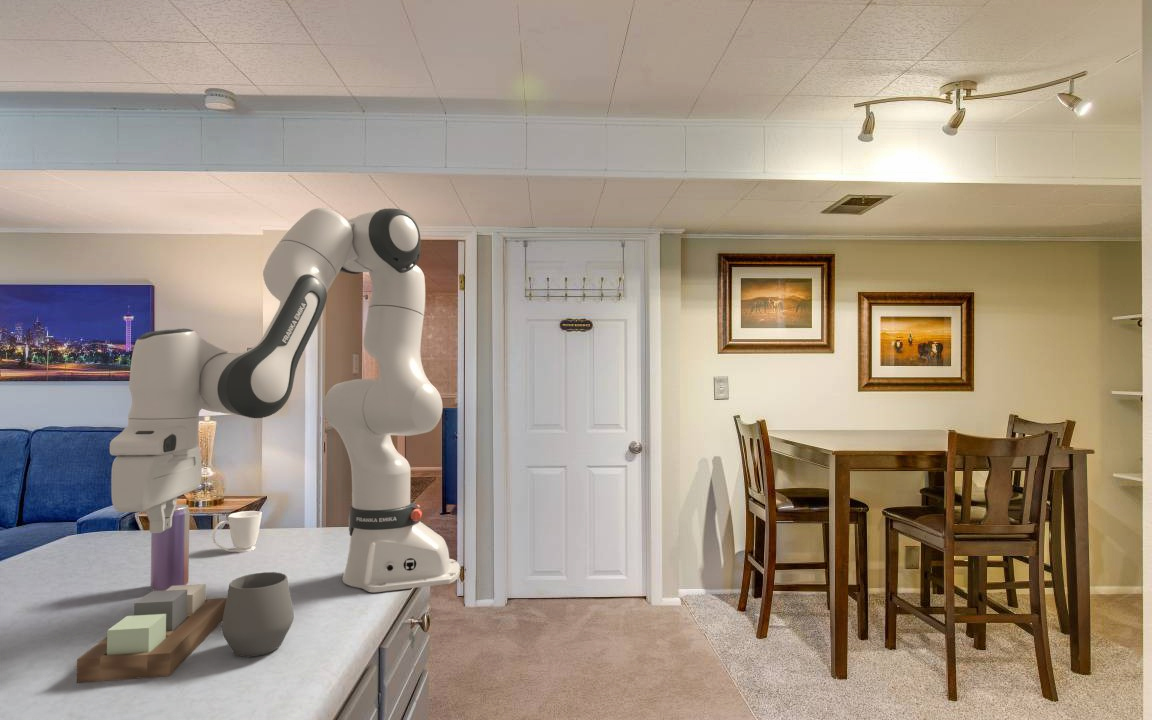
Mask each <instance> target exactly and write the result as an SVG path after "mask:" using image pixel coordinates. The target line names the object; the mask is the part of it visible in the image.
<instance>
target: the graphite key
mask: <svg viewBox="0 0 1152 720" xmlns="http://www.w3.org/2000/svg"><path fill="white" fill-rule="evenodd" d="M133 605H134V607H133V608H134V610H133V611H134V612H133V616H137V615H154V614H166V632H168V631H174V630H175V629H176V628H177V627H178V626H179V625H180V624H181V623H183V622H184V621H185V620H186V619H187V590H168V591H153V590H152V591H149V592H148V593H147V594H145V595H143V596H142V597H141V598H140V599H138V600H137V601H135V602H134V604H133Z"/></svg>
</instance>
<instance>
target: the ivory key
mask: <svg viewBox="0 0 1152 720" xmlns="http://www.w3.org/2000/svg"><path fill="white" fill-rule="evenodd" d="M206 586H207V585H206V583H203V584H200V583H199V584H187V585H177V586H171V587H170V588H168V589H167V590H166V591H168V590H187V613H194V612H195V611H196V610H198V609H199V608H200V607H201V606H202V605H203V604H204V603H205V599H206Z"/></svg>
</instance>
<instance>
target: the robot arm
mask: <svg viewBox="0 0 1152 720" xmlns="http://www.w3.org/2000/svg"><path fill="white" fill-rule="evenodd" d="M420 233H421V232H420V229H419V226H418V224H417V222H416V219H414V217H413V216H412V215H411V214H410V213H409V212H407V211H406V210H403V209H399V208H382V209H379V210H377V211H376V210H375V211H370V212H367V213H366V212H365V213H362V214H360V215H357V216H356V217H353V218H351V219H348V220H347V219H346V218H345V217H344V216H343V215H341V214H340V213H338V212H337V211H335V210H332V209H329V208H324V207H318V208H317V207H316V208H313V209H311V210H309V211H308V212H306V213H305V214H304V215H303V216H302V217H301V218H300V219H299V220H298V221H296V222H295V223H294V224H293V225H292V226H291V227H290V229H289V230H288V231H287V232H286V233H285V235H283V236H282V238H281V239H280V241H279V242H278V243H277V245H276V246H275V247H274V248H273V250H272V252H271V253H270V255H269V257H268V258H267V260H266V263H265V265H264V268H263V270H262V276H263V281H264V284H265V286H266V288H267V290H268V291H269V293H270V294H272V296H273V297H274V298H275V299H276V300H278V301H279V302H280V303H279V306H278V308H277V311H276V312H275V314H274V316H273V318H272V319H271V321H270V323H269V325H268V327H267V329H266V331H265V333H264V334H263V336H262V338H261V339H260V341H259V342H258V343H257V344H256V345H254V346H253V347H252V348H250V349H249V350H246V351H244V352H243V351H242V352H239V353H238V352H229V351H228V350H225V349H221V348H220V347H217V346H215V345H214V344H212V343H210V342H208V341H207V340H205V339H204V338H203V337H201V336H200V335H198V334H197V332H196V331H195V330H193V329H189V328H175V329H173V328H172V329H164V330H163V329H162V330H154V331H148V332H145V333H143V334H142V335H141V336H139V337H138V338H137V339H136V340H135V344H134V346H133V349H132V356H131V362H130V369H129V370H130V371H129V382H128V383H129V386H128V387H129V393H130V395H131V407H130V410H129V412H128V416H127V417H128V420H127V426H125V428H124V429H123V430H122V431H121V432H120V433H119V434H118V435H116V436H115V437H113V439H111V441H110V442H109V454H110V455H111V456H113V457H114V456H116V457H115V458H114V460H113V462H112V465H111V479H110V480H111V481H110V482H111V483H110V484H111V485H110V486H111V489H110V490H111V503H112V506H113V508H114V510H115V512H117V513H140V512H144V511H145V513H146V516H147V519H148V521H149V532H150V534H151V533H161V532H163V531H165V530H167V529H169V528H171V526H172V516H173V513H174V510H175V507H176V504H178V502H177V501H178V497H180V496H183V495H186V494H188V493H190V492H193V491H195V490H198V489H199V488H200V487H201V484H202V478H203V477H202V476H203V475H202V470H203V469H202V453H201V448H200V446H199V423H200V422H199V421H200V411H202V410H205V411H208V412H211V413H212V412H213V413H221V414H227V415H229V414H230V415H238V416H242V417H246V418H251V419H263V418H267V417H270V416H272V415H275V414H276V413H277V412H279V411H280V410H281V409H282V408H283V407H284V406H285V404H286V403H287V402H288V400H289V398H290V396H291V393H292V390H293V387H294V381H295V376H296V370H297V367H298V364H299V361H300V359H301V357H302V355H303V353H304V351H305V349H306V347H307V345H308V343H309V341H310V340H311V337H312V335H313V333H314V331H315V329H316V327H317V325H318V322H319V320H320V318H321V316H322V314H323V311H324V309H325V307H326V303H327V299H328V298H327V297H328V291H329V290H330V288H331V286H332V284H333V282H334V281H335V279H336V278H337V277H338V275H339V273H340V272H342V273H343V274H350V275H351V274H352V275H360V274H362V273H367V272H368V274H369V277H370V281H371V294H370V298H369V304H368V309H367V310H368V311H367V316H366V321H365V328H364V335H363V346H364V349H365V351H366V353H368V354H369V355H370V356H371V357H372V358H373V359H375V360H376V363H377V366H378V378H377V379H375V378H374V379H373V378H371V379H370V378H356V379H355V378H354V379H351V380H347V381H343V382H339V383H336V384H334V385H332V386H331V388H329V390H327V393H326V395H325V397H324V399H323V414H324V416H325V419H326V421H327V423H329V425H330V426H332V428H334V430H335V431H336V432H337V433H338V435H339V436H340V438H341V440H342V442H343V444H344V447H345V450H346V451H347V455H348V458H349V459H348V460H349V462H350V470H351V498H352V499H351V500H352V501H351V506H350V507H349V512H348V531H349V536H350V539H349V548H348V554H347V559H346V564H345V568H344V572H343V576H342V578H341V580H342V582H343V583H344V584H346V585H347V586H349V587H353V588H359V589H363V590H364V591H366V592H368V593H381V592H389V591H399V590H408V589H414V588H423V587H434V586H439V585H449V584H452V583H454V582H455V581H456V580H457V579H459V578H460V575H461V569H460V568H461V566H460V564H459V562H458V561H457V560H455V559H453V558H450V552H449V548H448V545H447V543H446V540H445V539H444V538H443V536H441V535H440V534H438V533H437V532H435V530H432V529H431V528H430V527H428V526H427V525H426V524H424V523H423V522H421V520H422V519H421V518H422V515H423V512H422V510H421V506H420V505H419V504H415V503H413V502H411V473H412V472H411V470H412V469H411V465H410V463H409V461H408V459H406V457H404V456H403V455H402V454H401V453H399V452H398V450H397V449H396V447H395V445H394V443H393V440H392V437H391V436H398V437H399V436H403V437H410V436H416V435H422V434H426V433H429V432H432V430H434V429H435V428H436V427H437V426H438V423H439V422H440V421H441V417H442V414H443V409H444V406H443V400H442V396H441V394H440V392H439V390H438V389H437V387H435V386H434V385H433V384H432V383H431V382H430V380H429V379H428V377H427V375H426V373H425V371H424V367H423V363H422V357H421V347H422V345H421V344H422V336H423V335H422V334H423V325H424V318H425V310H426V282H425V281H426V279H425V278H426V277H425V275H424V274H425V273H424V272H423V270H422V269H421V267H419V266H418V265H417V264H418V263H419V260H420V258H421V252H420V250H421V245H422V243H421V242H422V241H421V234H420Z"/></svg>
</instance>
